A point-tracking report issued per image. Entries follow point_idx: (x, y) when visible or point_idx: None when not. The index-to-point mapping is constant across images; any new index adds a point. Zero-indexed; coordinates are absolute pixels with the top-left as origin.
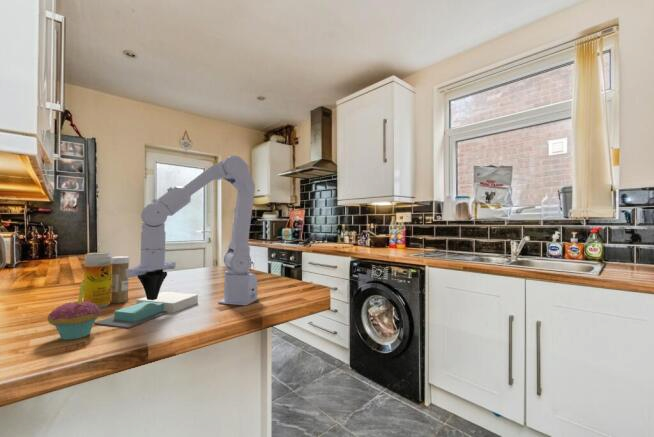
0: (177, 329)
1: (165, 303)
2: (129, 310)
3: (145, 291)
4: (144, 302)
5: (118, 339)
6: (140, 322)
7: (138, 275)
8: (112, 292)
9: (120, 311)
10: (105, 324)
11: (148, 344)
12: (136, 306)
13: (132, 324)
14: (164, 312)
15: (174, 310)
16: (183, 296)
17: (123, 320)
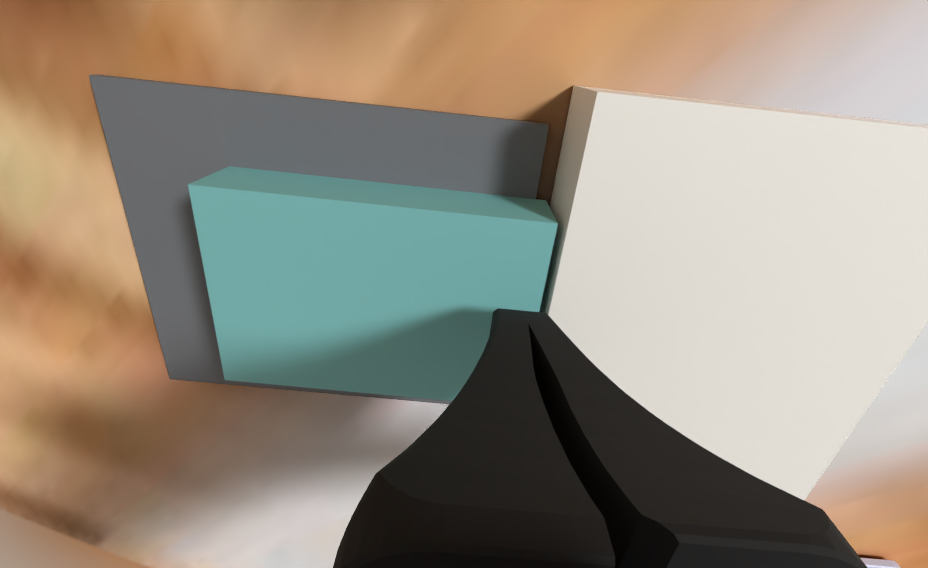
0: (277, 553)
1: None
2: (260, 299)
3: (485, 353)
4: (522, 243)
5: (54, 425)
6: (259, 385)
7: (335, 559)
8: None
9: (205, 250)
10: (122, 200)
11: (101, 544)
12: (378, 270)
13: (211, 367)
14: None
15: None
16: (739, 443)
17: None
